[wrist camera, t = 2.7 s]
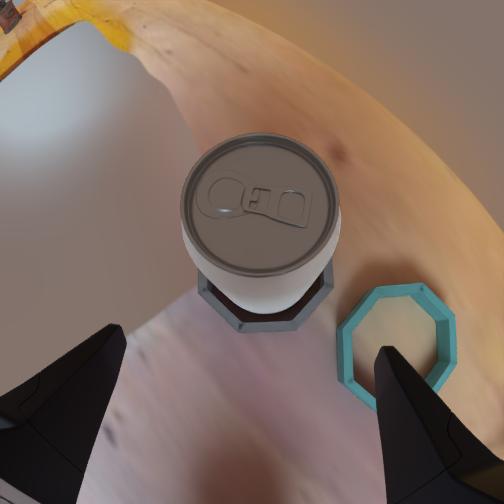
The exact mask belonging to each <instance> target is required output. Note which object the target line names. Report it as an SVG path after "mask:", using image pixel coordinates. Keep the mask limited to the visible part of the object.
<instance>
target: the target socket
mask: <svg viewBox="0 0 504 504" xmlns="http://www.w3.org/2000/svg"><path fill="white" fill-rule="evenodd" d="M407 295H410V296H411V297H412V298H413V299H414V300H415V301H416V302H417V303H418V304H419V305H420V306H421V307H422V308H423V309H424V310H425V311H426V312H427V313H428V314H429V315H430V316H431V317H432V318H433V319H434V320H435V321H436V331H437V355H438V361H437V363H436V364H435V366H434V367H433V368H432V370H431V371H430V373H429V374H428V375H427V377H426V378H425V379H424V380H425V381H426V382H427V384H428V385H429V386H430V387H431V388H432V389H433V390H434V391H435V393H436V394H437V392H438V391H439V390H440V388H441V387H442V386H443V384H444V383H445V381H446V380H447V378H448V377H449V375H450V374H451V372H452V371H453V369H454V368H455V366H456V365H457V342H456V323H455V314H454V313H453V312H452V311H451V310H450V309H449V308H448V307H447V306H446V305H445V304H444V303H443V302H442V301H441V300H440V299H439V298H438V297H437V296H436V295H435V294H434V293H433V292H432V291H431V290H430V289H429V288H428V287H427V286H426V285H425V284H424V283H423V282H422V283H412V284H401V285H389V286H377V287H375V288H373V289H371V290H369V291H367V293H366V294H365V295H364V297H363V298H362V299H361V300H360V302H359V303H358V304H357V305H356V306H355V308H354V309H353V310H352V311H351V313H350V314H349V315H348V316H347V317H346V319H345V320H344V321H343V322H342V323H341V325H340V326H339V327H338V328H337V330H336V336H337V362H338V381H339V382H341V383H342V384H343V385H344V386H345V387H346V388H348V389H349V390H350V391H351V392H352V393H353V394H355V395H356V396H357V397H358V398H359V399H361V400H362V401H363V402H364V403H365V404H366V405H368V406H369V407H370V408H371V409H373V410H374V411H375V412H377V409H376V399H375V398H374V397H373V396H372V395H371V394H369V393H368V392H367V391H366V390H365V389H364V388H362V387H361V386H360V385H359V384H358V383H357V382H356V381H354V380H353V349H352V331H353V330H354V329H355V327H356V326H357V325H358V324H359V322H360V321H361V320H362V319H363V317H364V316H365V315H366V314H367V312H368V311H369V310H370V309H371V307H372V306H373V305H374V304H375V302H376V301H377V300H378V298H387V297H397V296H407Z"/></svg>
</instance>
